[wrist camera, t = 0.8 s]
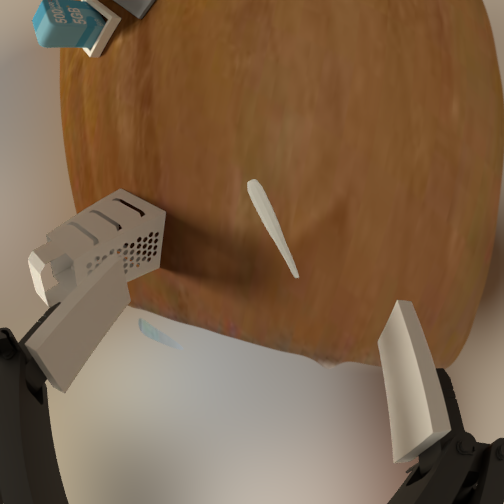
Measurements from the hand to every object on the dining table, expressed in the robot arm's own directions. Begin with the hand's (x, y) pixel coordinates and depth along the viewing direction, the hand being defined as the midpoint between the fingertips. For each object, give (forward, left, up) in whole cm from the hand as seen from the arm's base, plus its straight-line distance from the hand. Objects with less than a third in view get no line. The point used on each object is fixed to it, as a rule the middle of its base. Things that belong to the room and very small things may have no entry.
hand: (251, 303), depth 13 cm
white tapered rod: (+9, +6, -21) cm, 24 cm away
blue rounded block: (+7, -50, -21) cm, 55 cm away
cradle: (+7, -50, -20) cm, 55 cm away
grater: (+27, -15, -21) cm, 37 cm away
